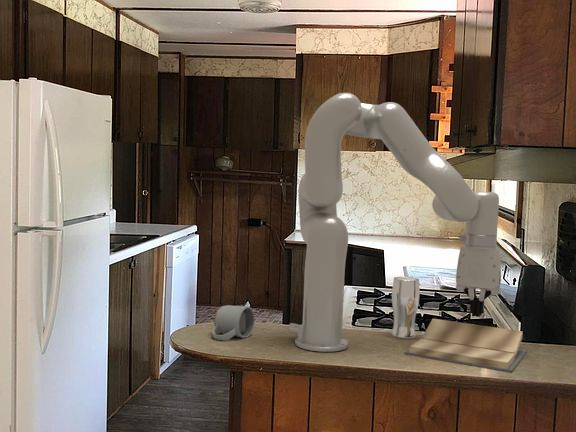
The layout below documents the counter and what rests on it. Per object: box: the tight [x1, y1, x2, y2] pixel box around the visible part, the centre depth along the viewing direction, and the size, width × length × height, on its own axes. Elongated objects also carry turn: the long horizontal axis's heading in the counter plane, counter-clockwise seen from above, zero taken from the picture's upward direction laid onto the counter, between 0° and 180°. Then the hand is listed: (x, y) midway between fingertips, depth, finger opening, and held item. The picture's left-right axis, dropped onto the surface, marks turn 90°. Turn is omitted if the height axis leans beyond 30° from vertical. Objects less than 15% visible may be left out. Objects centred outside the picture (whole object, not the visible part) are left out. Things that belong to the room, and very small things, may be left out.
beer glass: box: [391, 276, 420, 340], centre depth 170 cm, size 7×7×15 cm
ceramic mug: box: [211, 304, 256, 341], centre depth 162 cm, size 11×8×8 cm
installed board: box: [408, 338, 515, 369], centre depth 151 cm, size 22×9×2 cm, turn 61°
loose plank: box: [421, 318, 524, 358], centre depth 159 cm, size 22×9×2 cm, turn 61°
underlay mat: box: [404, 348, 528, 374], centre depth 155 cm, size 24×20×1 cm
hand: (476, 315), depth 162 cm, fingers closed
